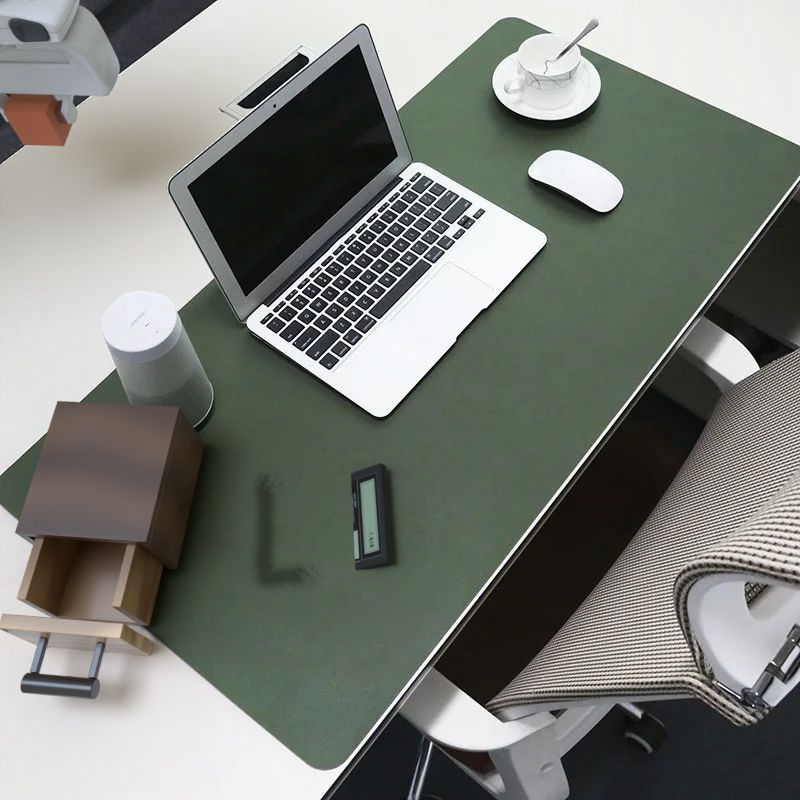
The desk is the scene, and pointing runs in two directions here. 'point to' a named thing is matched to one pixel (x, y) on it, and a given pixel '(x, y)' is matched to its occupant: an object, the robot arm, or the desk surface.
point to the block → (36, 119)
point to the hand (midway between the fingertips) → (43, 118)
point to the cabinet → (115, 477)
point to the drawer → (84, 607)
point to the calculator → (371, 518)
